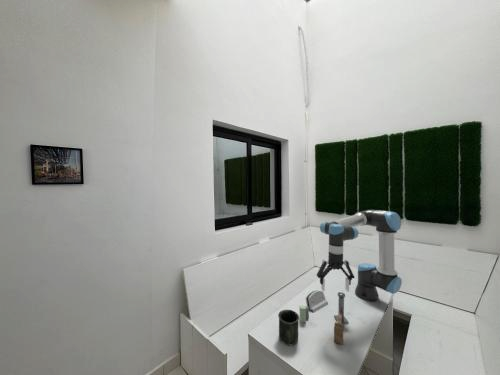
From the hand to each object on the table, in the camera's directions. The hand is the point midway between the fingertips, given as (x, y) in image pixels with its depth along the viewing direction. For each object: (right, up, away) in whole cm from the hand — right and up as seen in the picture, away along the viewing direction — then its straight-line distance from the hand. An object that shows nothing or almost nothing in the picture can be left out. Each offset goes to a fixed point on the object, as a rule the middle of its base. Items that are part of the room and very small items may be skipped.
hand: (335, 290), depth 111 cm
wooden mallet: (+2, -23, -1) cm, 23 cm away
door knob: (+8, -23, +9) cm, 26 cm away
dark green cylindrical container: (-26, -23, -4) cm, 35 cm away
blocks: (-14, -23, +10) cm, 29 cm away
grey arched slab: (-2, -23, +24) cm, 34 cm away
